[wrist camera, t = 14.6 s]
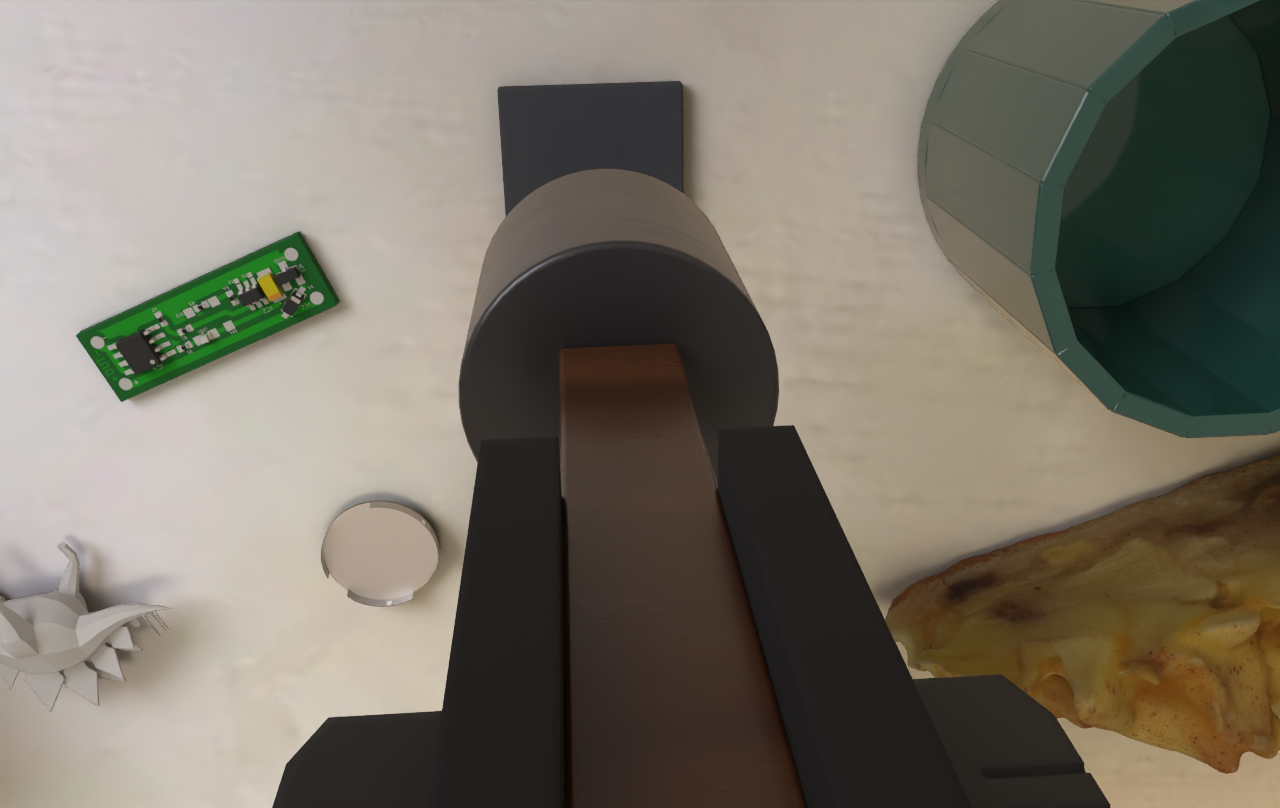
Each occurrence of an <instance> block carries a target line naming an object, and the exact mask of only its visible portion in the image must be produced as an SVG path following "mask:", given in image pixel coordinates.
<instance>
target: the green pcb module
mask: <svg viewBox="0 0 1280 808" xmlns="http://www.w3.org/2000/svg"><path fill="white" fill-rule="evenodd" d="M338 303H339V299H338V298H337V296H336V294H335V292H334V291H333V289H332V287H331V285H330V284H329V282H328V280H327V278H326V277H325V275H324V273H323V272H322V270H321V268H320V266H319V265H318V263H317V261H316V259H315V258H314V256H313V254H312V252H311V251H310V249H309V247H308V245H307V244H306V242H305V240H304V238H303V237H302V235H301V233H300V232H297V233H295V234H292V235H290V236H288V237H286V238H284V239H282V240H279V241H277V242H275V243H273V244H271V245H268V246H266V247H264V248H262V249H260V250H257V251H255V252H253V253H251V254H249V255H247V256H244V257H242V258H240V259H238V260H236V261H233V262H231V263H229V264H227V265H225V266H222V267H220V268H218V269H216V270H214V271H212V272H209V273H207V274H205V275H203V276H201V277H198V278H196V279H194V280H192V281H190V282H188V283H185V284H183V285H181V286H179V287H177V288H174V289H172V290H170V291H168V292H166V293H163V294H161V295H159V296H157V297H155V298H153V299H150V300H148V301H146V302H144V303H142V304H139V305H137V306H135V307H133V308H131V309H128V310H126V311H124V312H122V313H120V314H118V315H115V316H113V317H111V318H109V319H107V320H104V321H102V322H100V323H98V324H96V325H93V326H91V327H89V328H87V329H85V330H83V331H80V332H79V333H78V334H77V335H76V336H77V338H78V339H79V341H80V342H81V344H82V345H83V347H84V348H85V350H86V351H87V353H88V354H89V355H90V357H91V358H92V360H93V361H94V363H95V364H96V366H97V367H98V369H99V370H100V372H101V373H102V374H103V376H104V377H105V379H106V380H107V382H108V383H109V385H110V386H111V388H112V389H113V390H114V392H115V393H116V395H117V396H118V398H119V399H120V401H121V402H122V401H125V400H127V399H129V398H131V397H133V396H136V395H138V394H140V393H142V392H145V391H147V390H149V389H151V388H154V387H156V386H158V385H160V384H162V383H165V382H167V381H169V380H171V379H174V378H176V377H178V376H180V375H183V374H185V373H187V372H189V371H191V370H194V369H196V368H198V367H200V366H203V365H205V364H207V363H209V362H212V361H214V360H216V359H218V358H220V357H223V356H225V355H227V354H229V353H232V352H234V351H236V350H238V349H240V348H243V347H245V346H247V345H249V344H252V343H254V342H256V341H258V340H261V339H263V338H265V337H267V336H269V335H272V334H274V333H276V332H278V331H281V330H283V329H285V328H287V327H290V326H292V325H294V324H296V323H298V322H301V321H303V320H305V319H307V318H310V317H312V316H314V315H316V314H319V313H321V312H323V311H325V310H327V309H330V308H332V307H334V306H336V305H338Z"/></svg>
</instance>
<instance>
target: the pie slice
mask: <svg viewBox="0 0 1280 808" xmlns="http://www.w3.org/2000/svg"><path fill="white" fill-rule="evenodd" d="M885 622H886V624H887V626H888V628H889V630H890V632H891V634H892V637H893V639H894V641H895V642H901V643H902V644H903V645H904V646H905V648H906V650H907V653H908V666H910V667H912V668H915V669H918V670H921V671H929V672H931V673H932V674H933V675H934V676H935V677H936V678H945V677H963V676H981V675H998V674H1002V675H1003V676H1004V677H1006V678H1007V679H1008V680H1010V681H1011V682H1012V683H1014V684H1015V685H1016V686H1017V687H1019V688H1020V689H1021V690H1023V691H1024V692H1025V693H1027V694H1028V695H1029V696H1031V697H1032V698H1033V699H1034V700H1036V701H1037V702H1038V703H1040V704H1041V705H1042V706H1044V707H1045V708H1046V709H1048V710H1049V711H1050V712H1052V713H1053V714H1054V716H1055V717H1056V718H1062V717H1063V718H1066V719H1068V720H1069V721H1070V722H1072V723H1073V724H1075V725H1077V726H1079V727H1081V728H1091V727H1096V728H1100V729H1105V730H1110V731H1115V732H1117V733H1120V734H1122V735H1124V736H1126V737H1129V738H1132V739H1134V740H1137V741H1140V742H1143V743H1147V744H1150V745H1153V746H1157V747H1160V748H1164V749H1168V750H1172V751H1177V752H1180V753H1182V754H1185V755H1188V756H1190V757H1193V758H1195V759H1197V760H1199V761H1201V762H1203V763H1206V764H1208V765H1209V766H1211V767H1213V768H1214V769H1216V770H1218V771H1219V772H1222V773H1226V774H1227V773H1233V772H1236V771H1237V770H1238V767H1239V761H1240V758H1241V756H1242V754H1243V753H1245V752H1248V751H1249V752H1253V753H1255V754H1257V755H1259V756H1261V757H1263V758H1267V759H1270V758H1273V757H1275V755H1276V754H1277V753H1278V751H1279V750H1280V720H1279V719H1280V454H1279V455H1277V456H1274V457H1272V458H1269V459H1266V460H1262V461H1258V462H1254V463H1251V464H1248V465H1245V466H1242V467H1239V468H1236V469H1233V470H1229V471H1225V472H1219V473H1214V474H1209V475H1206V476H1203V477H1201V478H1198V479H1196V480H1195V481H1193V482H1191V483H1189V484H1187V485H1185V486H1183V487H1181V488H1179V489H1176V490H1174V491H1172V492H1170V493H1167V494H1165V495H1162V496H1159V497H1156V498H1151V499H1147V500H1143V501H1140V502H1137V503H1134V504H1131V505H1128V506H1126V507H1124V508H1121V509H1119V510H1117V511H1115V512H1113V513H1110V514H1107V515H1105V516H1102V517H1099V518H1097V519H1094V520H1090V521H1087V522H1085V523H1082V524H1079V525H1077V526H1074V527H1071V528H1069V529H1066V530H1063V531H1060V532H1055V533H1048V534H1043V535H1040V536H1037V537H1034V538H1030V539H1027V540H1023V541H1020V542H1018V543H1015V544H1013V545H1011V546H1008V547H1005V548H1002V549H998V550H995V551H992V552H990V553H987V554H984V555H981V556H976V557H971V558H967V559H964V560H961V561H960V562H958V563H956V564H955V565H953V566H951V567H950V568H948V569H947V570H945V571H943V572H942V573H940V574H938V575H935V576H932V577H928V578H925V579H923V580H920V581H918V582H916V583H914V584H912V585H911V586H909V587H908V588H907V589H905V590H904V591H903V592H902V593H901V594H899V595H898V596H897V597H896V598H895V599H894V600H893V602H892V604H891V606H890V608H889V611H888V614H887V617H886V619H885Z"/></svg>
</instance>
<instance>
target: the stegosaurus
mask: <svg viewBox="0 0 1280 808" xmlns="http://www.w3.org/2000/svg"><path fill="white" fill-rule="evenodd" d="M57 547H58V548H59V549H60V550H61V551H62V552H63V553H64V554H65V555H66V556H67V557H68V559H69V560H70V561H69V564H68V567H67V569H66V571H65V573H64V575H63V576H62V578H61V581H60V585H59V588H58V590H56V591H54V592H51V593H45V594H39V595H33V596H28V597H23V598H17V599H12V600H7V601H6V600H5V598H3V597H2V596H0V676H1V677H2V679H3V680H4V681H5V683H6V684H7V686H8V687H9V688H10V689H11V688H12V686H13V683H14V681H15V679H16V677H17V675H18V672H19V671H22V672H26V676H25V682H26V683H27V684H28V686H29V687H30V688H31V689H32V691H33V692H34V693H35V694H36V695H37V697H38V698H39V699H40V700H41V702H42V703H43V704H44V705H45V706H46V708H47V709H48V710H49V711H50V712H51V711H52V709H53V707H54V704H55V702H56V699H57V697H58V694H59V692H60V690H61V687H62V685H63V684H65V685H66V687H67V688H69V689H71V690H72V691H74V692H76V693H77V694H79V695H81V696H82V697H84V698H86V699H87V700H89V701H91V702H92V703H94V704H96V705H97V706H98V705H99V689H98V678H104V679H110V680H116V681H123V682H126V679H125V677H124V675H123V672H122V669H121V666H120V663H119V660H118V656H117V653H116V650H127V651H142V649H140V648H139V647H138V646H137V645H136V644H135V643H134V642H133V641H132V638H131V635H130V632H129V629H128V628H132V627H140V626H141V625H140V622H139V620H138V618H137V617H139V616H142V617H143V618H144V619H145V620H146V621H147V622H148V623H149V624H150V625H151V626H152V628H153V629H154V630H155V631H156V629H155V628H154V627H153V625H152V624H151V623H150V621H149V620H148V619H147V617H146V616H145V614H147V613H151V615H152V616H153V617H154V618H155V619H156V620H157V621H158V622H159V620H158V619H157V618H156V616H157V617H158V618H159V619H160V620H161V622H162V623H163V624H164V625H165V623H164V622H163V621H162V619H161V618H160V617H159V616H158V614H157V613H156V612H155V611H159V610H173V609H171V608H167V607H164V606H154V605H146V604H140V603H129V604H122V605H116V606H112V607H108V608H106V609H103V610H100V611H97V612H91V613H89V612H88V610H87V604H86V602H85V600H84V598H83V596H82V595H81V594H80V592H79V559H78V557H77V554H76V552H75V551H74V550H72V549H71V548H70V547H69V546H68V545H67V544H66V543H65V542H62V543H59V544H58V545H57ZM153 613H154V614H155V615H156V616H155V615H154V614H153ZM159 623H160V622H159ZM123 624H124V626H125V627H121V626H122V625H123ZM160 624H161V623H160ZM161 625H162V624H161ZM165 626H166V625H165ZM162 627H163V626H162ZM166 627H167V626H166ZM163 628H164V627H163ZM167 628H168V627H167ZM164 629H165V628H164ZM165 630H166V629H165ZM156 632H157V631H156ZM157 633H158V632H157ZM158 634H159V633H158ZM159 635H160V634H159ZM105 643H107V644H108V645H110V646H111V647H112V648H110V647H107V646H106V645H105Z"/></svg>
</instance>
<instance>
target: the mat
mask: <svg viewBox="0 0 1280 808" xmlns="http://www.w3.org/2000/svg"><path fill="white" fill-rule="evenodd" d="M498 105H499V120H500V135H501V150H502V166H503V181H504V196H505V211H506V216H507V215H508V214H509V213H510V211H511V210H512V209H513V208H514V207H515V206H516V205H517V204H518V203H520V202H521V201H522V200H523V199H524V198H525V197H526V196H528V195H529V194H531V193H532V192H533V191H535V190H536V189H538V188H539V187H541V186H543V185H545V184H547V183H549V182H550V181H552V180H555V179H558V178H560V177H563V176H565V175H568V174H572V173H576V172H581V171H585V170H594V169H621V170H627V171H633V172H638V173H641V174H645V175H648V176H651V177H654V178H656V179H658V180H661V181H663V182H665V183H667V184H669V185H671V186H672V187H674V188H675V189H677V190H679V191H680V192H682V193H683V85H682V83H681V82H680V81H668V82H636V83H603V84H571V85H539V86H506V87H499V88H498Z"/></svg>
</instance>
